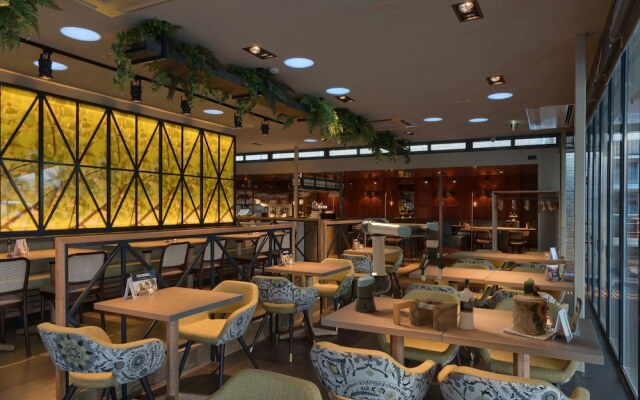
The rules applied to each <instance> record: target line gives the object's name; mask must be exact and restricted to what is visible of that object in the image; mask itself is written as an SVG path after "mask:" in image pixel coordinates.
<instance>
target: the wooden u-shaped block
mask: <svg viewBox="0 0 640 400" xmlns="http://www.w3.org/2000/svg"><path fill="white" fill-rule="evenodd" d="M412 301H416V300H414V299H411V298H410V299H405V300H401V301H395V302H393V304H392V305H393V306H392V307H393V310H392V311H393V312H392V313H393V315H392V316H393V317H392V323H393V325H398V326H399V325H400V324H401V310H405V309H409V310H408V311H409V312H408V320H409V321H411V302H412Z"/></svg>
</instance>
